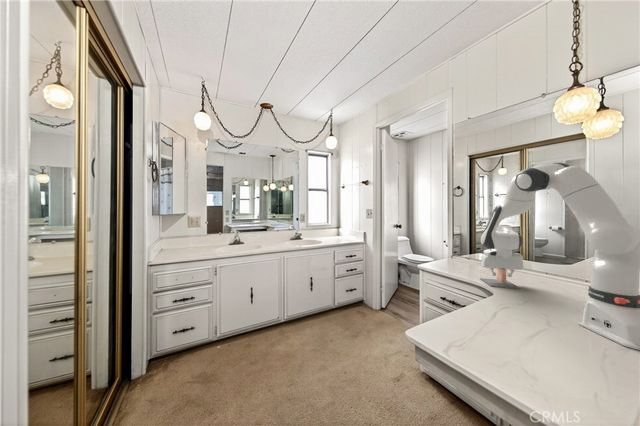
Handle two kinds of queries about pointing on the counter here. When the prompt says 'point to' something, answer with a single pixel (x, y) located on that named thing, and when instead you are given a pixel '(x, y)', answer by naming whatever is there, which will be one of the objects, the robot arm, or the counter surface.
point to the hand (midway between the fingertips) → (501, 276)
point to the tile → (501, 275)
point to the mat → (497, 284)
